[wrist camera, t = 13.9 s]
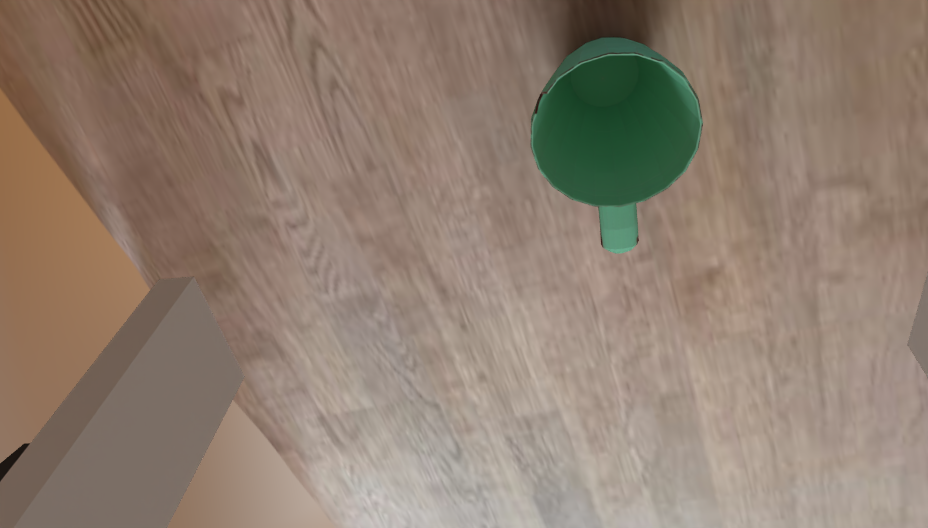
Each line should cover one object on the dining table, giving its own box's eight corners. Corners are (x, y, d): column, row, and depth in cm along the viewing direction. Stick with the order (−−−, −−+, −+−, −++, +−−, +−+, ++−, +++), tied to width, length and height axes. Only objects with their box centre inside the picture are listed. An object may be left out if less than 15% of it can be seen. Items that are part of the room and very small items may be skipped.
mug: (524, 14, 45) (518, 67, 37) (675, -12, 43) (703, 37, 35) (551, 200, 53) (550, 276, 45) (678, 185, 51) (702, 262, 43)
